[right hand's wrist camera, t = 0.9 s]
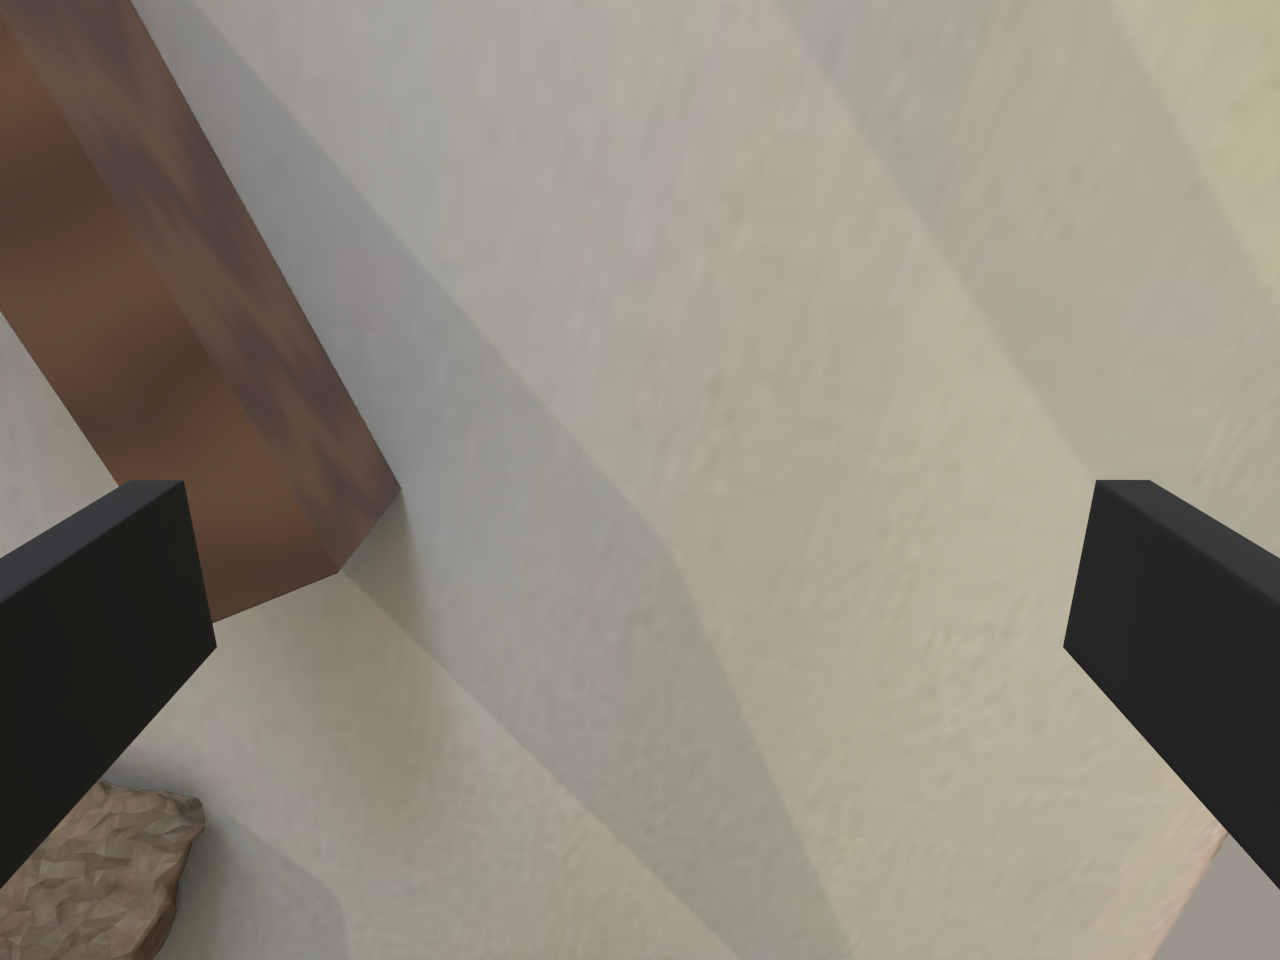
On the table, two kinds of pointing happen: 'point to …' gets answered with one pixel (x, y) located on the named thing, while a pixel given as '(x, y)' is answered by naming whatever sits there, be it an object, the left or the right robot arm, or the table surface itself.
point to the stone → (102, 878)
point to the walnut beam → (170, 307)
